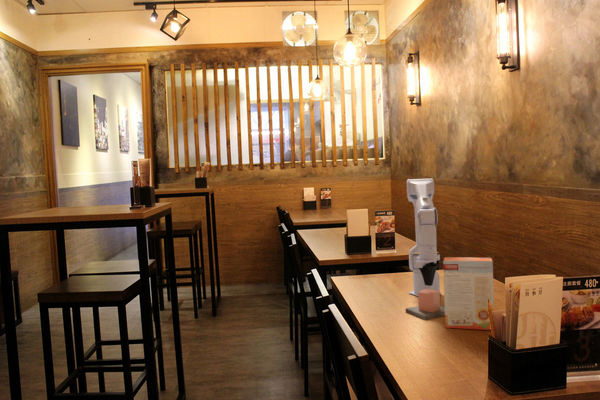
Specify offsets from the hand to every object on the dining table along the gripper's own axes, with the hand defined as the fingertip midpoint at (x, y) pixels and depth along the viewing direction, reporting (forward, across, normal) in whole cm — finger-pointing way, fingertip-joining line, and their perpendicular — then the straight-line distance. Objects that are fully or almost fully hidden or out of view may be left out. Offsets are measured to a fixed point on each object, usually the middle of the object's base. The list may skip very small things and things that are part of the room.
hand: (428, 285), depth 160 cm
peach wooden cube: (+8, 0, 0) cm, 8 cm away
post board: (+9, 0, 0) cm, 9 cm away
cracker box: (+10, +6, +16) cm, 20 cm away
